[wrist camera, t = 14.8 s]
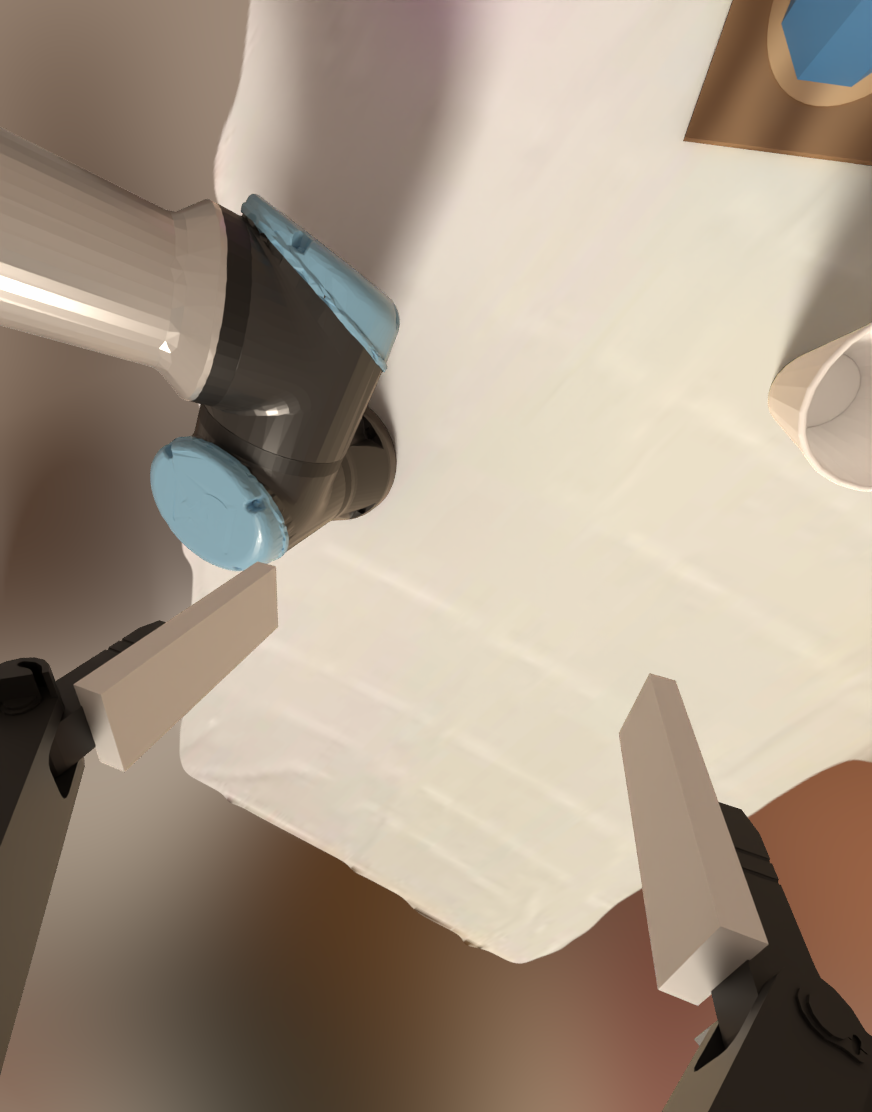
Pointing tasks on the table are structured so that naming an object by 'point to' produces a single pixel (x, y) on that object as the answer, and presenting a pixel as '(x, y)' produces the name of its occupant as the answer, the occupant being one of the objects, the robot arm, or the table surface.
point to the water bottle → (830, 40)
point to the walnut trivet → (776, 95)
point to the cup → (830, 408)
